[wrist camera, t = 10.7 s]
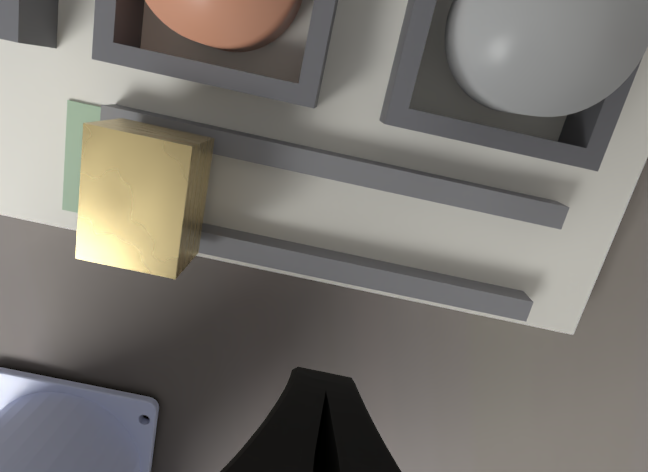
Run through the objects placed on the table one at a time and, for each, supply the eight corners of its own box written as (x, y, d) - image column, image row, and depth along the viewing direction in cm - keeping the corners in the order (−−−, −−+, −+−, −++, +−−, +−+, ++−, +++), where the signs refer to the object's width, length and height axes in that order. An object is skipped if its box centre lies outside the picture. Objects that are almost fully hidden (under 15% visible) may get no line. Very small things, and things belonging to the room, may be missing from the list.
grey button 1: (569, 127, 15) (613, 134, 12) (426, 95, 15) (443, 96, 12) (627, -35, 13) (690, -63, 11) (470, -73, 13) (500, -109, 11)
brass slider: (207, 242, 17) (175, 279, 14) (127, 225, 17) (75, 258, 14) (223, 134, 16) (192, 146, 13) (137, 116, 16) (83, 122, 13)
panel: (556, 317, 20) (600, 362, 17) (-213, 155, 19) (-332, 168, 16) (697, -35, 16) (792, -69, 13) (-266, -265, 15) (-442, -369, 12)
